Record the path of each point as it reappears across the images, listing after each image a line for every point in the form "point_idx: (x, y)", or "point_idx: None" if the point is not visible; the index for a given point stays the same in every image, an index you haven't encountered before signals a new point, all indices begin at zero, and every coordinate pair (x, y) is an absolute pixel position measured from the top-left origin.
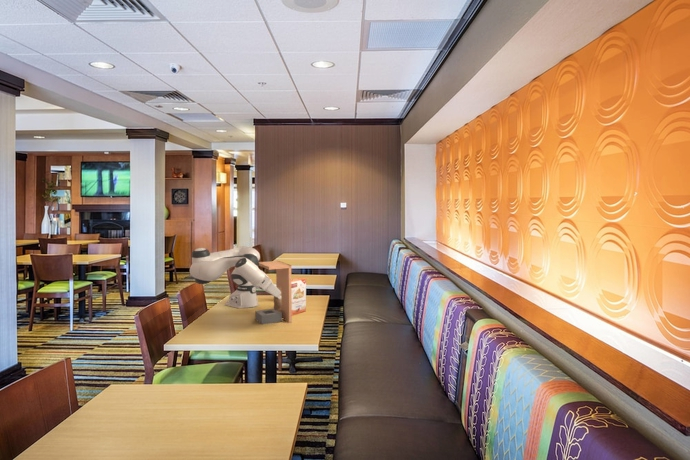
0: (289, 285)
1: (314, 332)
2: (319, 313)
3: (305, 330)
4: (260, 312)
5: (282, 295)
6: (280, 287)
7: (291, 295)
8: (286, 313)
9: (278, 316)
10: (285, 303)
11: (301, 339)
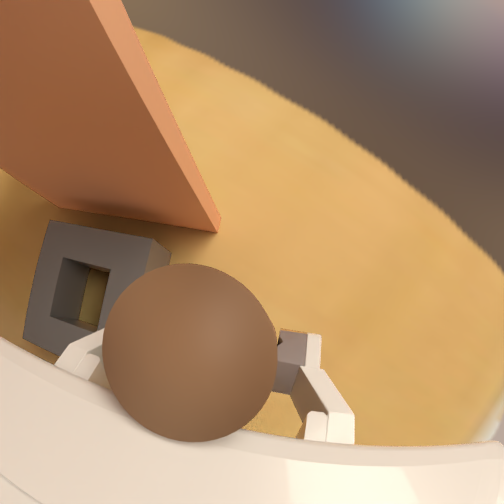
0: (127, 58)
1: (448, 229)
2: (195, 56)
3: (401, 244)
4: (58, 337)
5: (50, 153)
6: (221, 294)
7: None
8: (164, 210)
9: (154, 268)
10: (122, 180)
11: (490, 337)
